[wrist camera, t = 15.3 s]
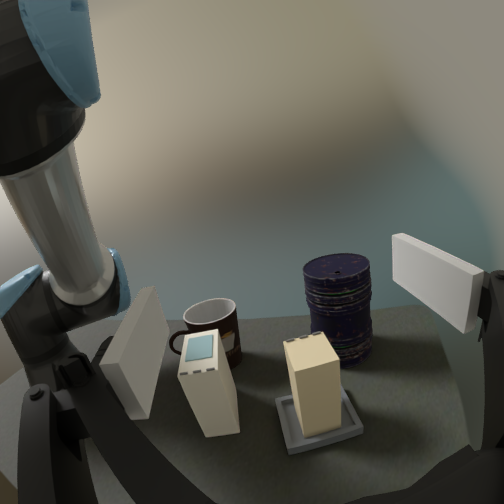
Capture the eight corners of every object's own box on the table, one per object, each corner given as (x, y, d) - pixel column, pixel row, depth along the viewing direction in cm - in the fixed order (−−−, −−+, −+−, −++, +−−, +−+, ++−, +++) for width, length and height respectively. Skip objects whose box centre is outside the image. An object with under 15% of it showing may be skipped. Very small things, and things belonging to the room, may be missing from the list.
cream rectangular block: (304, 438, 29) (294, 370, 26) (294, 408, 35) (283, 340, 31) (341, 427, 29) (339, 357, 26) (328, 398, 35) (322, 330, 32)
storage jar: (313, 336, 51) (303, 257, 47) (368, 330, 49) (364, 249, 44) (311, 372, 42) (300, 283, 38) (376, 365, 39) (376, 273, 35)
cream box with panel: (206, 437, 32) (176, 374, 29) (207, 394, 41) (184, 333, 38) (240, 432, 33) (217, 368, 30) (236, 389, 41) (217, 327, 38)
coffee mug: (244, 341, 54) (232, 294, 51) (252, 368, 46) (239, 316, 43) (184, 355, 53) (167, 309, 50) (183, 383, 44) (162, 333, 42)
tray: (288, 455, 28) (287, 449, 27) (276, 405, 36) (274, 398, 36) (362, 433, 28) (363, 426, 28) (339, 388, 37) (339, 381, 36)
